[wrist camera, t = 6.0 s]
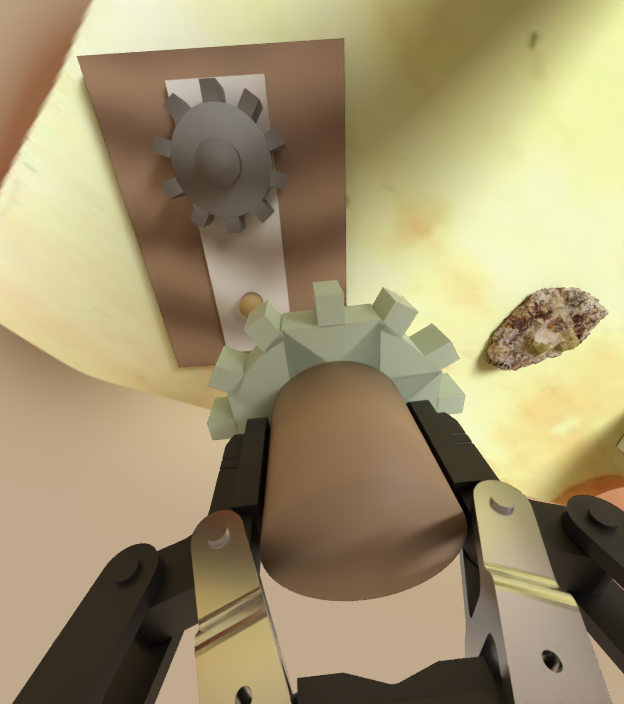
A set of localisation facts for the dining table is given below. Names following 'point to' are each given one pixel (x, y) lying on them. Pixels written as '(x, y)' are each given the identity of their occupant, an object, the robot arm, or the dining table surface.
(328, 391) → the planet gear
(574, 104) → the dining table surface
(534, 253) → the dining table surface
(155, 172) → the carrier board
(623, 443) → the tea box
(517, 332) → the mineral rock
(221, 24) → the dining table surface
